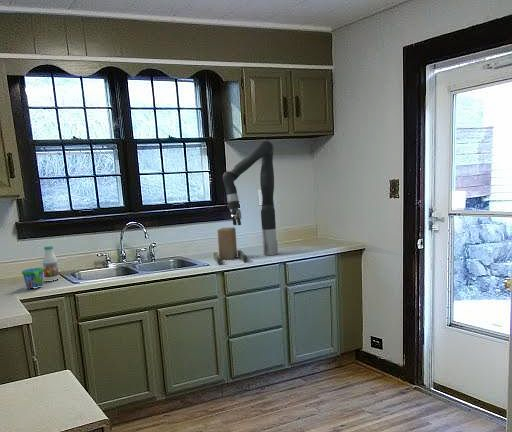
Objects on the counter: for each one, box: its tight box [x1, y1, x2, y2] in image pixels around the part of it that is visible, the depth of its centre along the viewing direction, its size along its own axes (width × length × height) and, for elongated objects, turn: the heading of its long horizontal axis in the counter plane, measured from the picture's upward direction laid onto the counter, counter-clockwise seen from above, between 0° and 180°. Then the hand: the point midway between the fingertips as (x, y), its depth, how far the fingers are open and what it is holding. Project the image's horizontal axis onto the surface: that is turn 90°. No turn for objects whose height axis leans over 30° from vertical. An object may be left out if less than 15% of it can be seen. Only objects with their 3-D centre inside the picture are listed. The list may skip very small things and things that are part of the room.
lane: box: [213, 249, 248, 266], centre depth 298 cm, size 18×26×4 cm
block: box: [217, 226, 238, 261], centre depth 305 cm, size 10×10×20 cm
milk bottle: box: [42, 245, 60, 281], centre depth 267 cm, size 8×8×20 cm
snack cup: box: [21, 267, 44, 289], centre depth 250 cm, size 16×10×10 cm
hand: (237, 225), depth 307 cm, fingers open, 8 cm apart
